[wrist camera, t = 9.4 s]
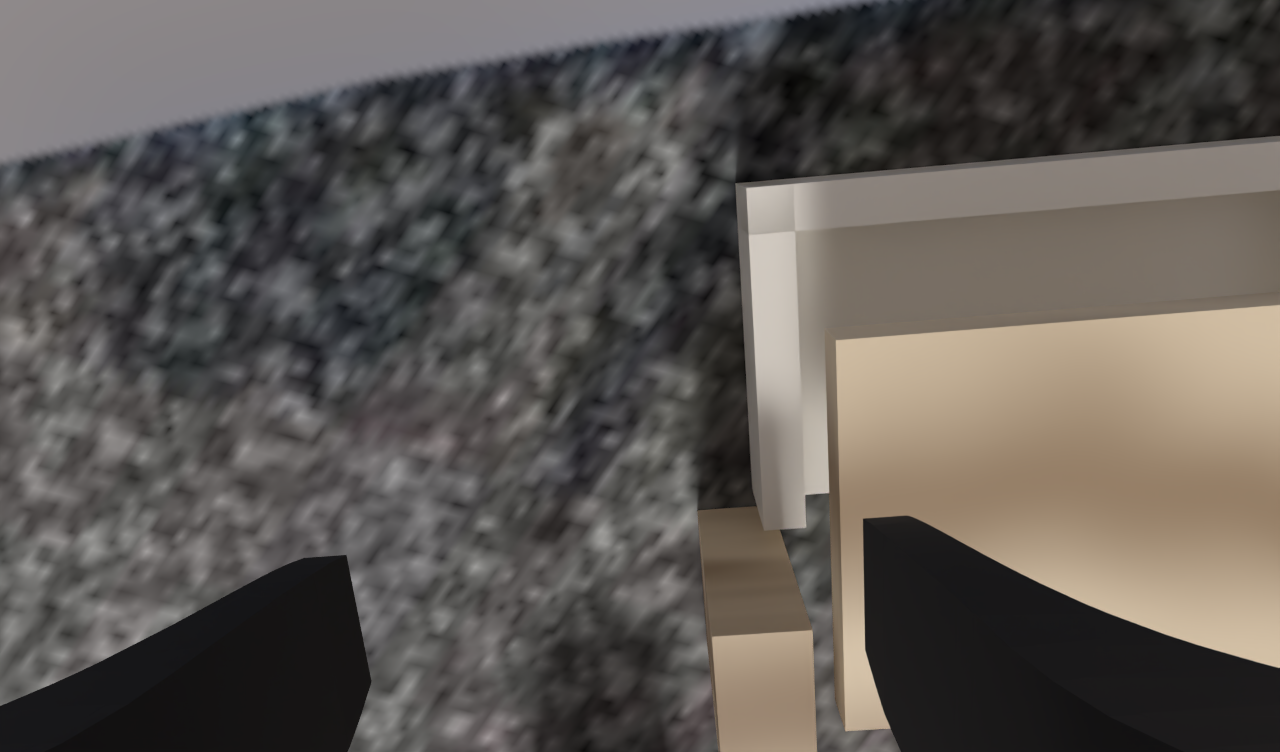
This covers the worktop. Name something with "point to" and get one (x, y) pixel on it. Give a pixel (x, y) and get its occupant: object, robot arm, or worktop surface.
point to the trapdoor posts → (755, 636)
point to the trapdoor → (1069, 462)
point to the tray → (977, 263)
